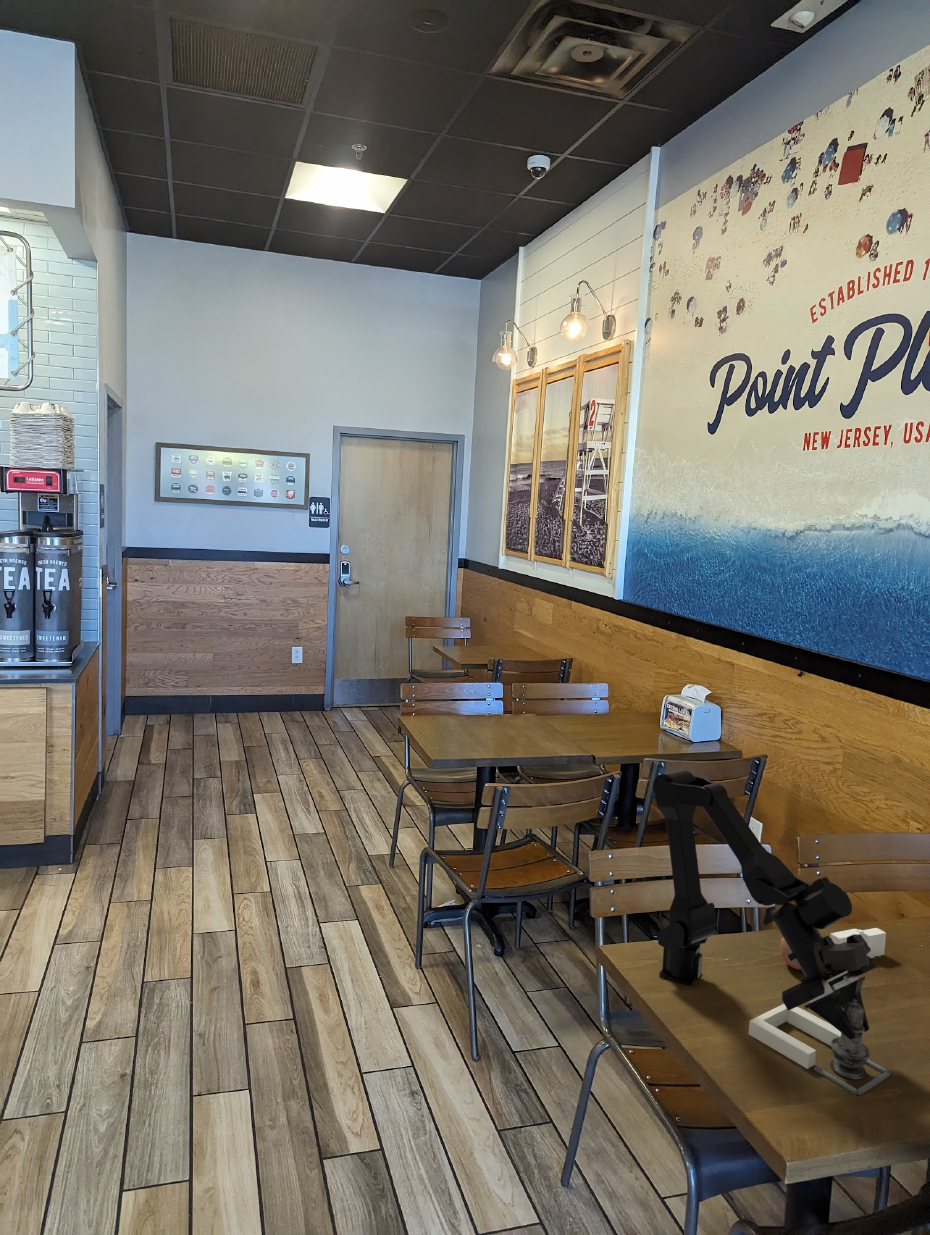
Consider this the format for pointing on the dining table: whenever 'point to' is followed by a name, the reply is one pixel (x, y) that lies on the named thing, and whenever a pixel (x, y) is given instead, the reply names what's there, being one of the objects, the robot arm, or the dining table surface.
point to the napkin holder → (871, 936)
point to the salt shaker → (851, 1046)
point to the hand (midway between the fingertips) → (860, 1034)
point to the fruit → (787, 951)
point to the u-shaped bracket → (785, 1043)
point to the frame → (864, 1088)
